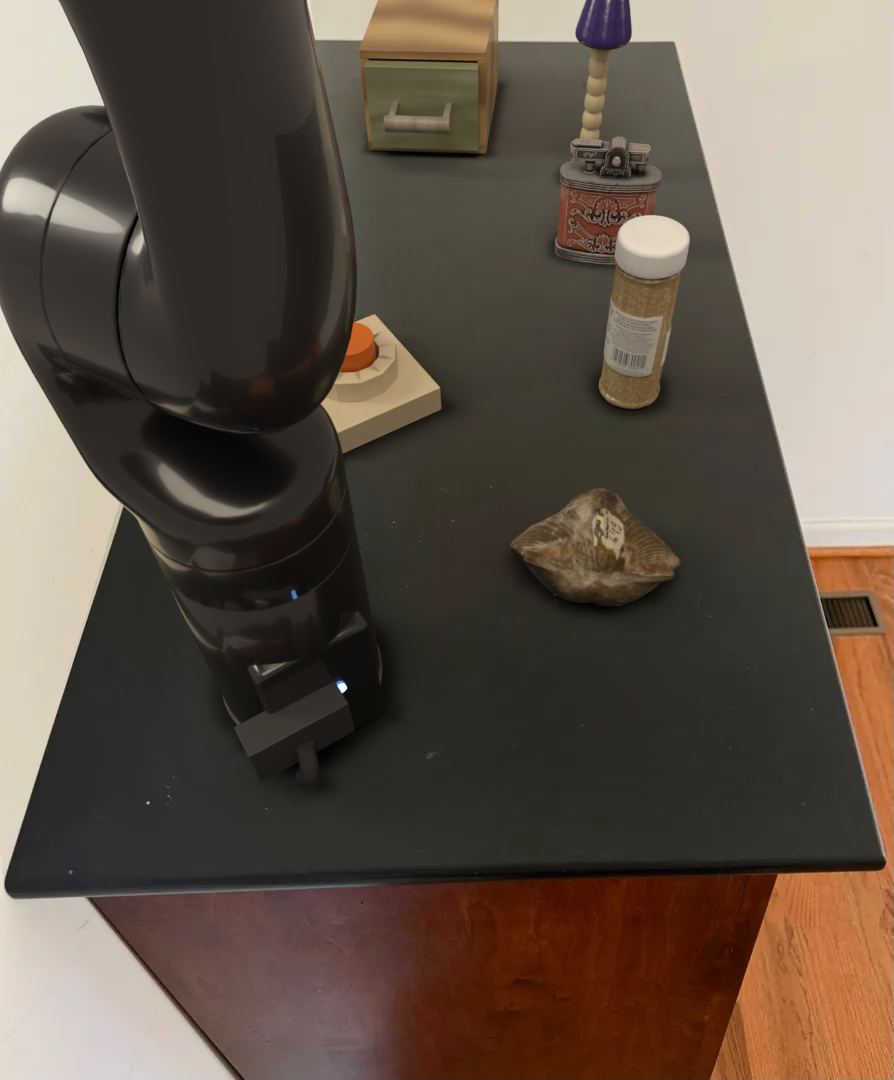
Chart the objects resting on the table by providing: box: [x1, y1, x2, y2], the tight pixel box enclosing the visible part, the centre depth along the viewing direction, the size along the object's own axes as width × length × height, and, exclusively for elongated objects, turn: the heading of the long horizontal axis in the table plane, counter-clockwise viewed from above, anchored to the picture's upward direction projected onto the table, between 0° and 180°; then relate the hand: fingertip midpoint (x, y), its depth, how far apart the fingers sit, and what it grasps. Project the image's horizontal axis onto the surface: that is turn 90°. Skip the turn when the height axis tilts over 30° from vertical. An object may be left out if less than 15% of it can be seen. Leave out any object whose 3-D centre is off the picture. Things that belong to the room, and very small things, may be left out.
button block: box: [321, 313, 442, 454], centre depth 67 cm, size 10×9×4 cm
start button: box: [340, 321, 376, 373], centre depth 65 cm, size 4×4×2 cm
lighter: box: [554, 136, 663, 265], centre depth 74 cm, size 8×3×10 cm, turn 80°
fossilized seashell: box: [509, 486, 682, 607], centre depth 56 cm, size 8×7×10 cm
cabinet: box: [358, 0, 500, 154], centre depth 90 cm, size 14×12×10 cm
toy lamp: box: [568, 0, 633, 161], centre depth 79 cm, size 5×5×17 cm
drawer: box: [364, 59, 480, 151], centre depth 87 cm, size 17×10×8 cm, turn 173°
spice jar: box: [598, 214, 691, 410], centre depth 62 cm, size 5×5×14 cm
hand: (155, 61), depth 52 cm, fingers closed
